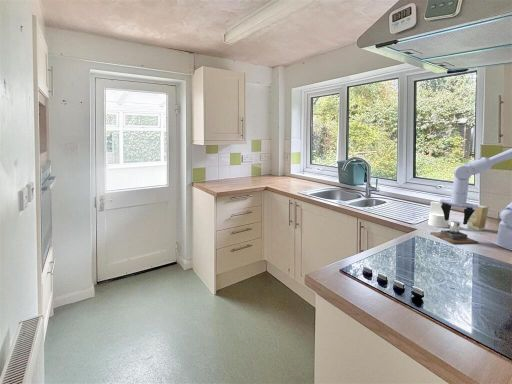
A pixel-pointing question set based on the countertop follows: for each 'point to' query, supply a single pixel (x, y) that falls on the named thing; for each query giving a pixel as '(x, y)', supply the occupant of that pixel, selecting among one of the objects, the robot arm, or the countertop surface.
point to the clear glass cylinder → (454, 227)
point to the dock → (454, 237)
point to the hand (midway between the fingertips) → (455, 222)
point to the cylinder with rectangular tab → (437, 215)
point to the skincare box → (478, 218)
